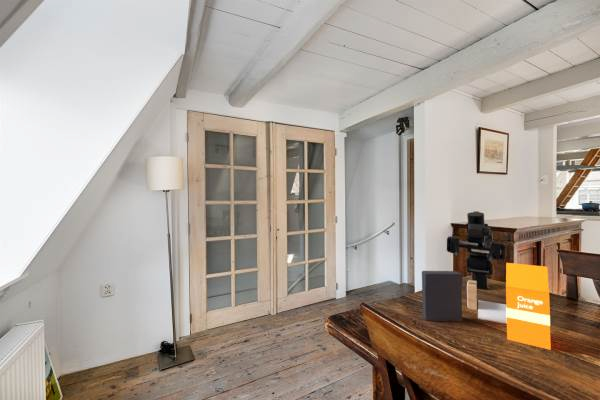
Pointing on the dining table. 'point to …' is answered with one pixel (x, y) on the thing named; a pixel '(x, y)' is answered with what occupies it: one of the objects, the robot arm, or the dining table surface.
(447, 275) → the charcoal upright rounded slab
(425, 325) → the dining table surface
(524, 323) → the orange juice
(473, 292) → the tile
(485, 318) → the mat
